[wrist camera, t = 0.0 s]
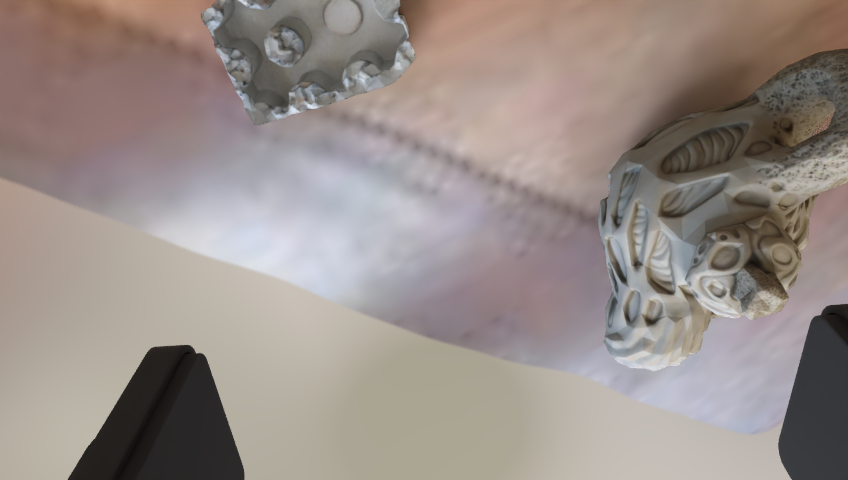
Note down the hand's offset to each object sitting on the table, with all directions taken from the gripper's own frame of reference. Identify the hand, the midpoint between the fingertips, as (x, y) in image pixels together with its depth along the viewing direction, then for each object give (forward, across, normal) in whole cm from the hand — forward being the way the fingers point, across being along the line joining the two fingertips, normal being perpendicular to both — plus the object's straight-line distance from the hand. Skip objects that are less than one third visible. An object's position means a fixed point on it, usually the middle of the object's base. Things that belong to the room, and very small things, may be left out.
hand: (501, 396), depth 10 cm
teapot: (+31, -14, +11) cm, 36 cm away
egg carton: (+31, +8, 0) cm, 32 cm away
